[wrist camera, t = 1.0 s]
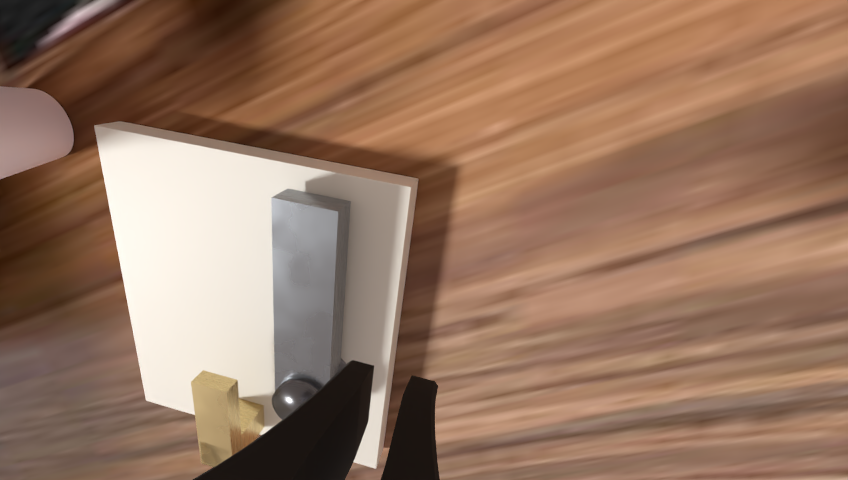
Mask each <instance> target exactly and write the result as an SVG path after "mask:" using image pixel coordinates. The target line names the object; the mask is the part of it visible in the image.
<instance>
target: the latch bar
mask: <svg viewBox="0 0 848 480" xmlns="http://www.w3.org/2000/svg"><path fill="white" fill-rule="evenodd" d="M350 206H351V201H347V200H342V199H337V198H332V197H328V196H323V195H318V194H313V193H308V192H303V191H298V190H293V189H286V190H284V191H282V192H280V193H279V194H277V195H275V196H273V197H271V210H272V261H273V313H274V364H275V392H274V394H273V396H272V406H273V408H274V410H275V412H276V414H277V415H278V416H279V417H280V418H281V419H282V420H283V419H284V418H286V417H287V416H288V415H289V414H291V413H292V412H293V411H294V410H296V409H297V408H298V407H299V406H300V405H302V404H303V403H304V402H305V401H306V400H308V399H309V398H310V397H311V396H312V395H313V394H315V393H316V392H317V391H318V390H319V389H320V388H321V387H323V386H324V385H325V384H326V383H327V382H328V381H329V380H330V379H331V378H333V377H334V376H335V375H336V374H337V373H338V372H339V371H340V364H341V348H342V333H343V317H344V301H345V285H346V269H347V254H348V238H349V222H350Z"/></svg>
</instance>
